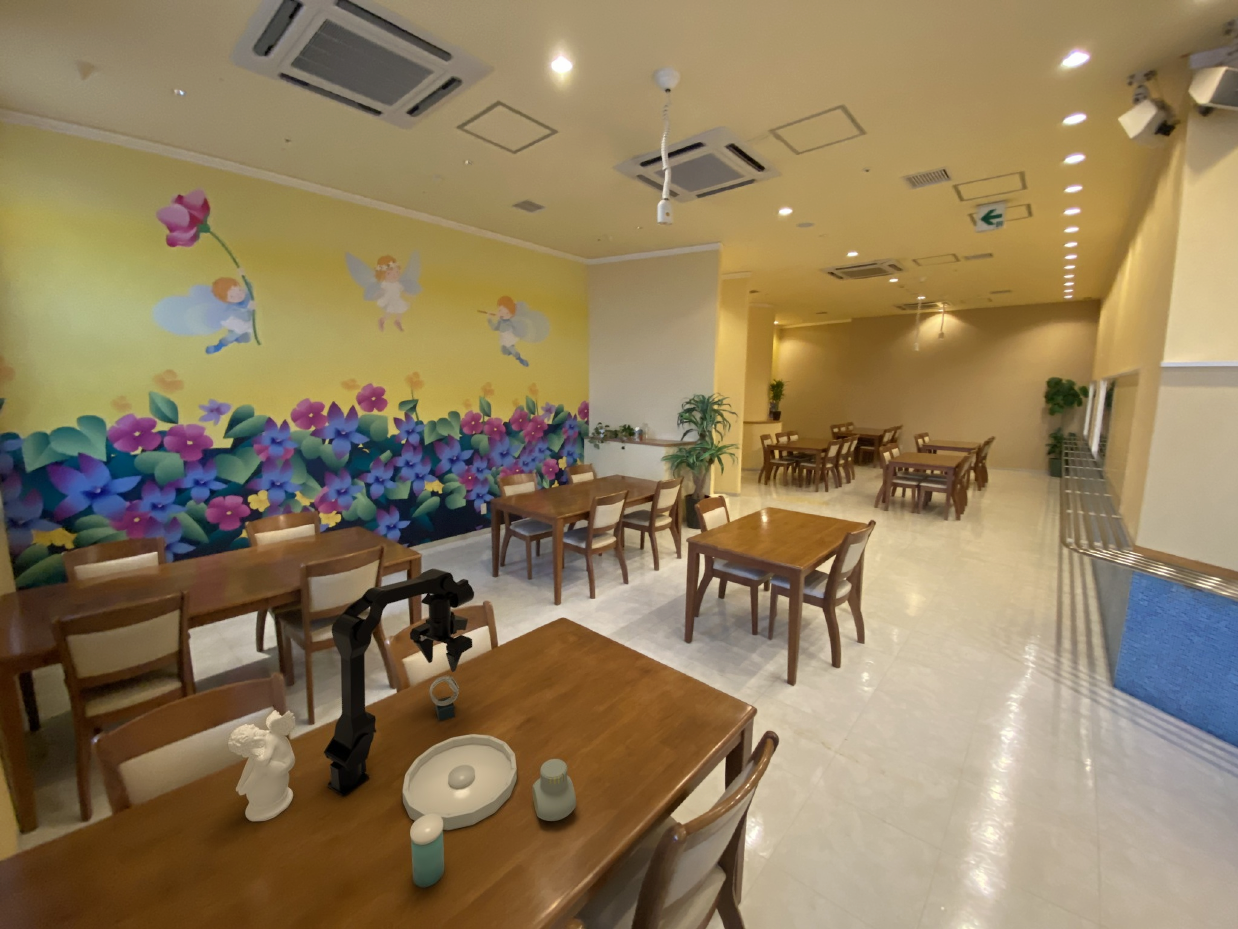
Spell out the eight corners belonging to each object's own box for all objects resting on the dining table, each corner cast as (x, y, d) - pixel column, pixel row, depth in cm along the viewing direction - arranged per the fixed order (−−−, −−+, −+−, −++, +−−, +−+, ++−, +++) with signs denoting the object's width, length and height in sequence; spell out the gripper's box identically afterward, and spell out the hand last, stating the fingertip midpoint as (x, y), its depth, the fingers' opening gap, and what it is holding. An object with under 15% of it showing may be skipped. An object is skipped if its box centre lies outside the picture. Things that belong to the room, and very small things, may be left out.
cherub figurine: (231, 828, 104) (218, 733, 100) (257, 783, 115) (246, 697, 112) (297, 815, 107) (286, 722, 103) (315, 772, 119) (306, 688, 115)
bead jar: (427, 893, 91) (424, 846, 89) (405, 878, 94) (403, 832, 92) (451, 867, 96) (449, 822, 94) (430, 853, 99) (428, 809, 97)
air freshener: (530, 794, 114) (530, 755, 112) (565, 784, 116) (565, 746, 115) (540, 834, 103) (540, 791, 102) (578, 822, 106) (578, 781, 105)
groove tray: (460, 849, 100) (459, 836, 99) (379, 799, 111) (378, 787, 111) (537, 767, 121) (537, 756, 121) (463, 733, 133) (462, 723, 133)
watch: (461, 714, 141) (460, 679, 139) (432, 723, 137) (430, 686, 135) (458, 703, 146) (456, 669, 144) (429, 712, 142) (427, 676, 140)
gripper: (486, 610, 139) (487, 662, 141) (439, 596, 147) (441, 645, 150) (455, 627, 129) (457, 682, 131) (407, 610, 138) (410, 662, 140)
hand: (441, 666), depth 138 cm, fingers open, 9 cm apart
